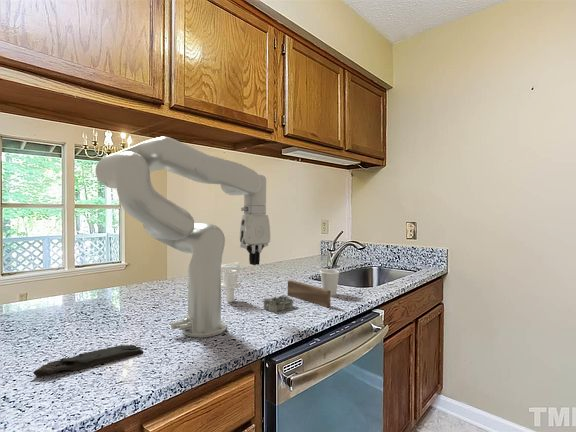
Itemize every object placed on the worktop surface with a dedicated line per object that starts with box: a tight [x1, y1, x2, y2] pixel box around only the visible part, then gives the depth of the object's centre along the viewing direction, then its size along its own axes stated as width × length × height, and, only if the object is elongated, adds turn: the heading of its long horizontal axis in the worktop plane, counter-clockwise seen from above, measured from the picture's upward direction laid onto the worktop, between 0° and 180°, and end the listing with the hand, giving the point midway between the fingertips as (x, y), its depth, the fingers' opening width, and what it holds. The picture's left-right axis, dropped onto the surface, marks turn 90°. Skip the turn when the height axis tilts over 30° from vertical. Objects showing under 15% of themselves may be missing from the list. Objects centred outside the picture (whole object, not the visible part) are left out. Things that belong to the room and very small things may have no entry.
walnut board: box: [287, 280, 332, 308], centre depth 129 cm, size 2×22×6 cm, turn 41°
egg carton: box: [261, 294, 295, 313], centre depth 120 cm, size 11×8×4 cm
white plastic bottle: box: [221, 262, 240, 303], centre depth 128 cm, size 7×7×15 cm
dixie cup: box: [319, 268, 340, 297], centre depth 139 cm, size 8×8×10 cm
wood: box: [32, 344, 144, 377], centre depth 77 cm, size 22×7×3 cm, turn 130°
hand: (254, 264), depth 112 cm, fingers closed
